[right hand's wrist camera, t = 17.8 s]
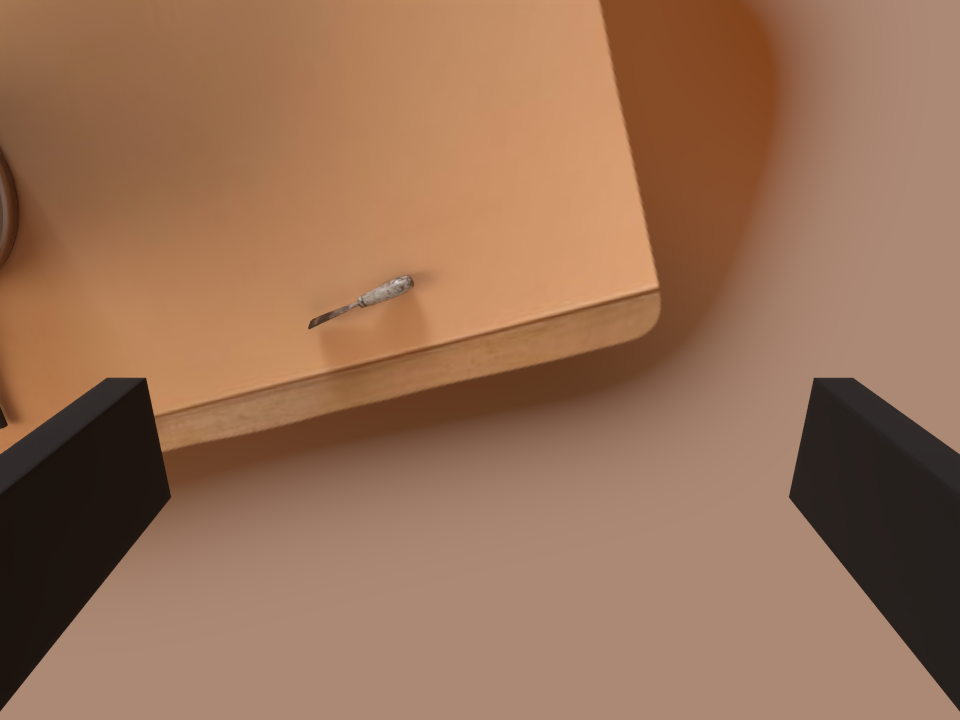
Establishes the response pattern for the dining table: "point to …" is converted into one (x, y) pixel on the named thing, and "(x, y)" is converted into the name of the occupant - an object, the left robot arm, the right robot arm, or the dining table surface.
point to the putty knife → (371, 298)
